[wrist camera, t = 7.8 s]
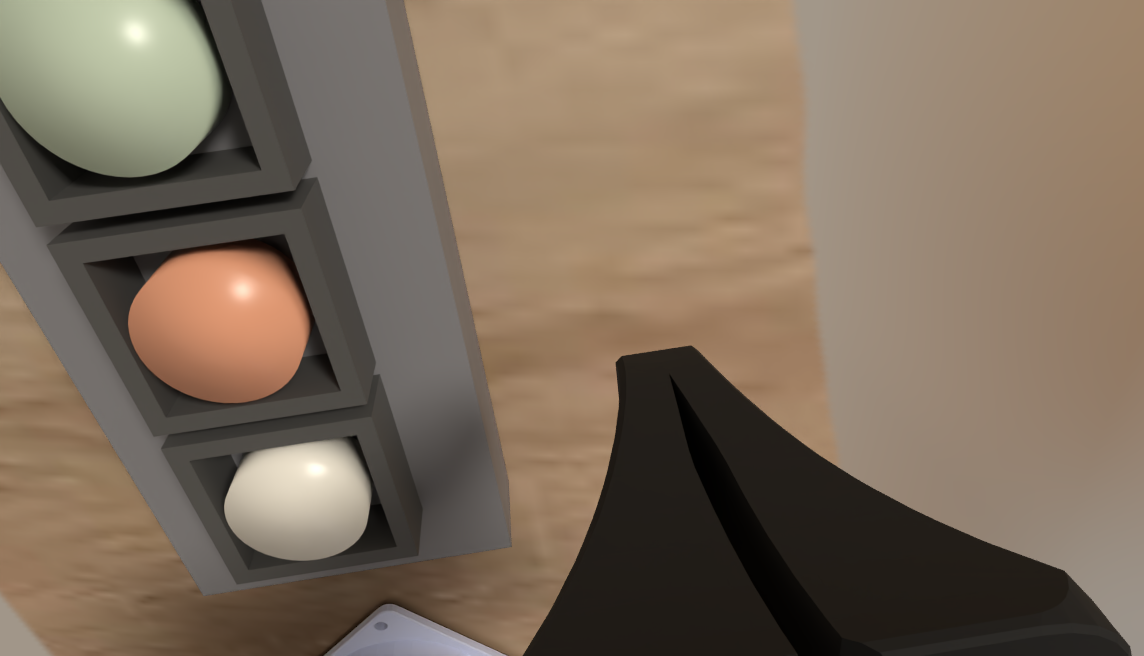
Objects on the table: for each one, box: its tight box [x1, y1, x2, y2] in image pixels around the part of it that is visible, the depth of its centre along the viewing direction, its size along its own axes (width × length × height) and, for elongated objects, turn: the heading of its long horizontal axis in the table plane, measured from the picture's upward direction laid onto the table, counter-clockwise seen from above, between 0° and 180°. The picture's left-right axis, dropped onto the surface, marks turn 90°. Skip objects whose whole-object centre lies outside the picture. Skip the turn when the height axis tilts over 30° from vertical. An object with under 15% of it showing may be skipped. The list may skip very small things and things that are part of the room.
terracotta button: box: [128, 239, 315, 403], centre depth 17 cm, size 4×4×2 cm
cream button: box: [224, 436, 374, 561], centre depth 20 cm, size 4×4×2 cm
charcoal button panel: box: [0, 0, 512, 596], centre depth 18 cm, size 21×10×5 cm, turn 6°
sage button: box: [0, 0, 232, 177], centre depth 14 cm, size 4×4×2 cm
